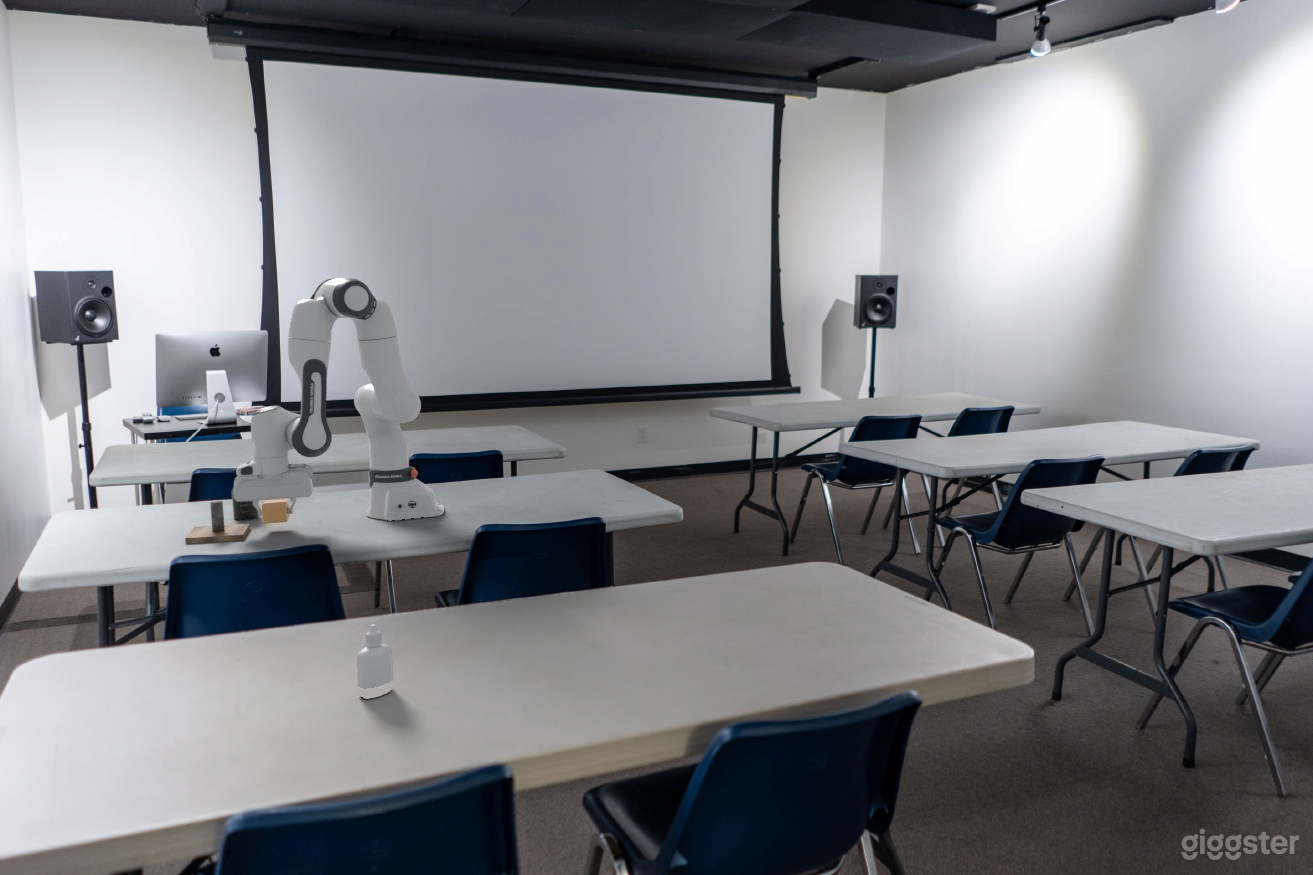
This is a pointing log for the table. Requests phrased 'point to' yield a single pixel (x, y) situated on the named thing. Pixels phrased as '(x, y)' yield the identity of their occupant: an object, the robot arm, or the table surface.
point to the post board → (218, 536)
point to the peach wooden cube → (275, 511)
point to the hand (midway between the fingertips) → (276, 514)
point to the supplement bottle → (243, 509)
